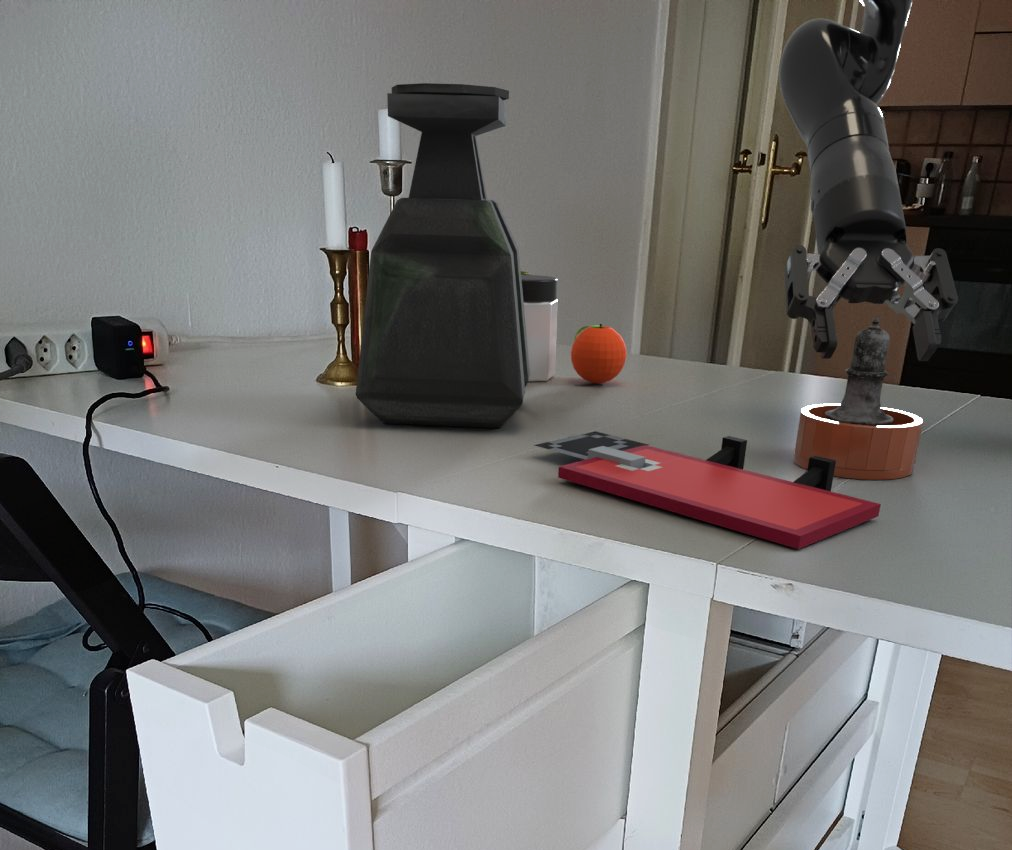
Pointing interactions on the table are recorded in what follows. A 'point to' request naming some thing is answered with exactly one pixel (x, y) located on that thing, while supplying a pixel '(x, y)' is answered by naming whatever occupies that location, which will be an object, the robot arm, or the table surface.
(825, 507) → the red board with handle
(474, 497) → the table surface
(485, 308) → the bottle
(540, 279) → the jar
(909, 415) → the round brown bowl
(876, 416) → the salt shaker
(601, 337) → the clementine
